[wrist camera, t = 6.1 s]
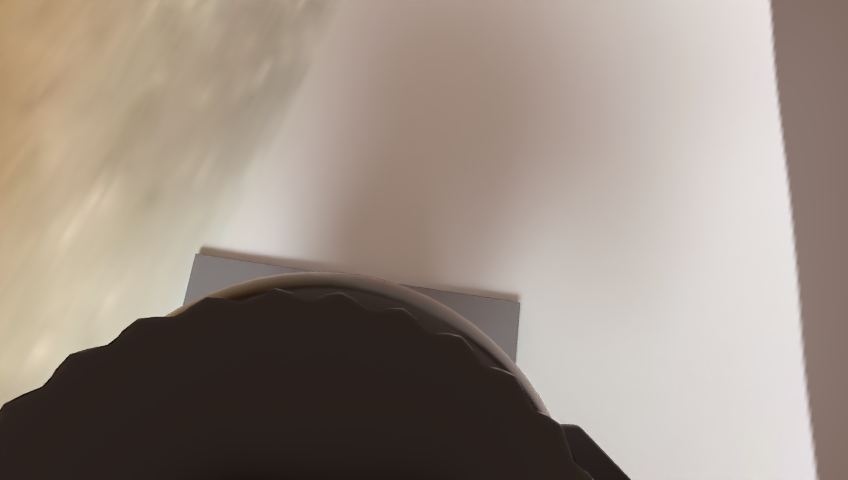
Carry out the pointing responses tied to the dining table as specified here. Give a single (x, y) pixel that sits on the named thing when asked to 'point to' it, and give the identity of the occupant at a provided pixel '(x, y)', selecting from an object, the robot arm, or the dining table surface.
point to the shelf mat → (481, 311)
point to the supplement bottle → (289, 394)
